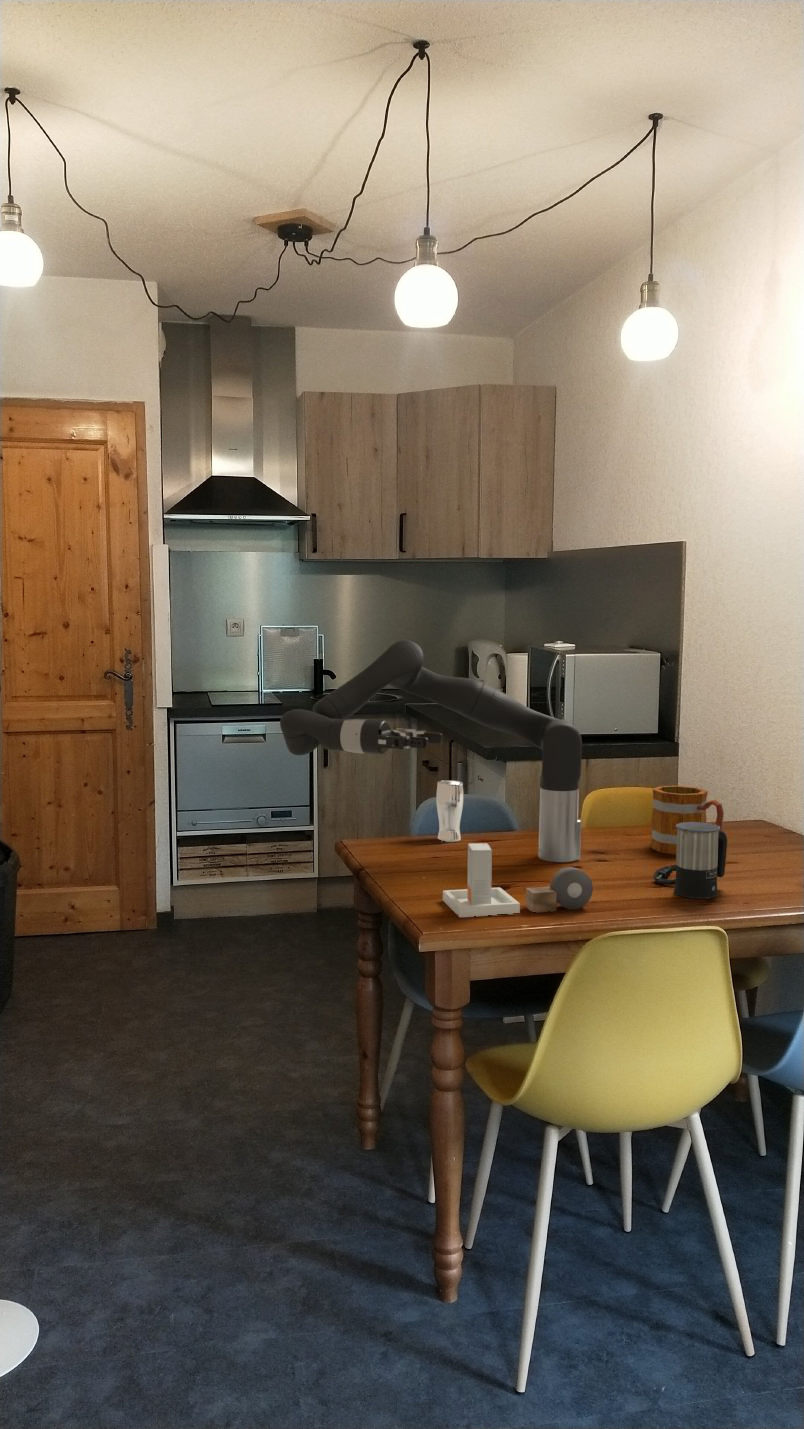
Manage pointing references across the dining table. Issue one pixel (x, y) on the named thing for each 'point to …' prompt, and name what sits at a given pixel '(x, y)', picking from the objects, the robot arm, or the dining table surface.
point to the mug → (678, 813)
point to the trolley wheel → (572, 887)
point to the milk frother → (696, 860)
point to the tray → (499, 904)
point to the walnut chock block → (541, 899)
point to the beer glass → (449, 809)
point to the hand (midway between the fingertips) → (434, 740)
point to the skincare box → (479, 874)
